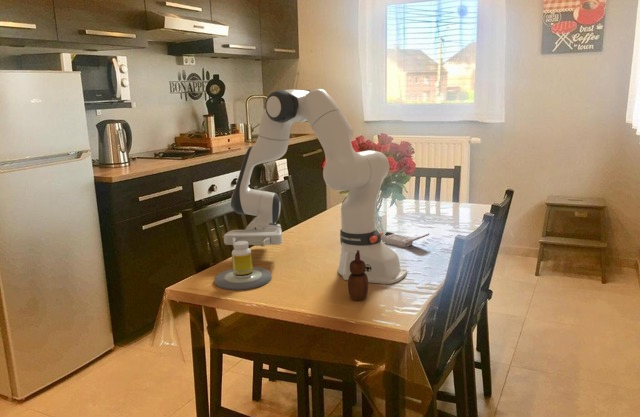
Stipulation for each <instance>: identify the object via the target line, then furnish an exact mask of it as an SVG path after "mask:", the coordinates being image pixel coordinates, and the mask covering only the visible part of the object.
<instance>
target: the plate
mask: <svg viewBox="0 0 640 417" xmlns="http://www.w3.org/2000/svg"><path fill="white" fill-rule="evenodd" d="M252 269H253V275H252V276H251V277H248V278H243V279H239V278H235V277H234V275H233V268H230V269H226V270H223V271H221V272H219V273H218V274H216V276H214V284H215V285H216V286H217V287H218V288H220V289H223V290H227V291H228V290H229V291H246V290H252V289H256V288H260V287H263V286H265V285H266V284H267V285H268V283H270V282H271V280H272V272H271V271H270V270H269V269H268V268H267V269H266V268H264V267H259V266H252Z"/></svg>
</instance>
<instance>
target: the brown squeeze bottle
mask: <svg viewBox="0 0 640 417" xmlns="http://www.w3.org/2000/svg"><path fill="white" fill-rule="evenodd" d="M365 271H366V265H365V262H364V261H362V260H360V253H359V250H357V253H356V254H355V260H353V261H351V263H350V272H351V274H350V276H349V278H348V280H347V292H348V295H349V296H350V298H351V299H352V300H353V301H362V300H364V299H366V298H367V295H368V292H369V282H368V277H367V275H366V274H365V273H364V272H365Z"/></svg>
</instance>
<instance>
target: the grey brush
mask: <svg viewBox="0 0 640 417" xmlns="http://www.w3.org/2000/svg"><path fill="white" fill-rule="evenodd" d="M385 232H386V234H385V235H382V236H381V240H382V241H383V242H385V243H384V244H386V245H387V244H388V245H392V246H396V247H400V248H407V247H409V246H411V245H413V242H415V241H417V240H419V239H422V238H425V237H428V236H430V233H426V234H424V235H420V236H418V237H415V238H411V237H407V236H402V235H401V234H400V235H399V234H396V233H394V232H391V231H385Z"/></svg>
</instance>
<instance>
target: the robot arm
mask: <svg viewBox="0 0 640 417" xmlns="http://www.w3.org/2000/svg"><path fill="white" fill-rule="evenodd" d="M264 104H265V105H264V109H263V112H262V115H261V118H260V122H259V127H258V135H257V139H256V141H255V143H254V144H253V145H252V146H249V147H248V149H247V150H246V153H245V155H244V157H243V161H242V164H241V167H240V170H239V174H238V177H237V182H236V184H235V188H234V190H233V193H232V195H231V198H230V207H231V208H232V210H233V211H234V212H235V213H236V214H238V215H249V216H255V217H254V218H253V219H252V220H251V221H250V223H248V225H247V226H246V227H245V229H232V230H230V231H227V232H226V233H225V234H223V242H224V245H227V246H228V245H229V246H230V245H231V246H233V243H234V242H237V241H247V242H248V246H258V247H259V246H260V247H266V246H273V245H274V246H275V245H277V246H279V245H282V244H283V230H282V226H281V224H280V223H277V222H278V221H279V219H280V216H281V213H282V200H281V199H280V196H279V195H278V194H277V192H271V191H266V190H259V189H254V188H250V187H249V184H250V180H251V177H252V173H253V170H254V168H255V166H257V165H260V164H264V163H270V162H274V161H277V160H279V159H280V158H282V157H283V156H285V154H286V153H287V151H288V147H289V143H290V137H291V136H290V135H291V130H292V129H291V128H292V126H293V125H294V123H295V124H297V123H306V122H307V123H308V124H309V126H310V127H311V129H312V130H313V132H314V134H315V136H316V137H317V139H318V142H319V143H320V145H321V147H322V149H323V152H324V155H325V164H324V166H323V169H322V177H323V181H324V183H325V185H327V187H328V188H330V189H331V190H333V191H338V192H339V191H342V192H343V191H344V192H346V191H348V193H347V196H346V197H345V199H344V201H343V202H342V204H341V207H340V220H341V221H340V223H341V224H340V225H341V226H340V227H341V229H340V231H339V232H340V233H339V236H340V238H339V239H340V245H341V247H340V258H339V265H338V268H337V273H338V274H339V275H340V276H342V279H343V280H344V281H348V278H349V276H350V274H351V272H350V263H351V261H353V260H355V254H356V253H357V250H359V253H360V260H362V261H364V262H365V265H366V271H365V272H364V273H365V274H366V275H367V277H368V283H371V284H373V283H374V284H383V285H385V284H386V285H390V284H395V283H397V282H399V281H401V280H403V279H404V278H405V277H406V276H407V274H408V270H407V269H408V268H406V267H403V266H401V264H400V259H399V255H398V253H397V252H396V251H394V250H393V249H391V248H390V247H389V246H388V245H387V243H383V242H382V241H381V236H382V235H383V232H384V231H380V232H381V233H379V231H378V229H377V226H376V225H377V224H376V222H377V221H376V220H377V202H378V198H379V193H380V190H381V187H382V184H383V182H384V180H385V179H386V177H387V176H388V175H389V171H390V162H389V159H388V157H387V155H385V154H384V153H383V152H381V151H377V150H371V149H369V150H368V149H367V150H362V151H356V150H355V148H354V147H353V144H352V139H353V137H354V129H353V127H352V126H351V124H350V122H349V120H348V119H347V117H346V116H345V115H344V112H343V111H342V109H341V108H340V107H339V105H338V103H337V102H336V101H335V100H334V98H333V97H332V96H331V95H330V94H329V93H328V92H327V91H326V90H325V89H322V88H316V89H312V90H310V89H308V90H307V89H306V90H305V89H304V90H303V89H297V88H296V89H294V88H292V89H291V88H290V89H279V90H275V91H272V92H270V94H268V95H267V97H266V99H265V103H264Z"/></svg>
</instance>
